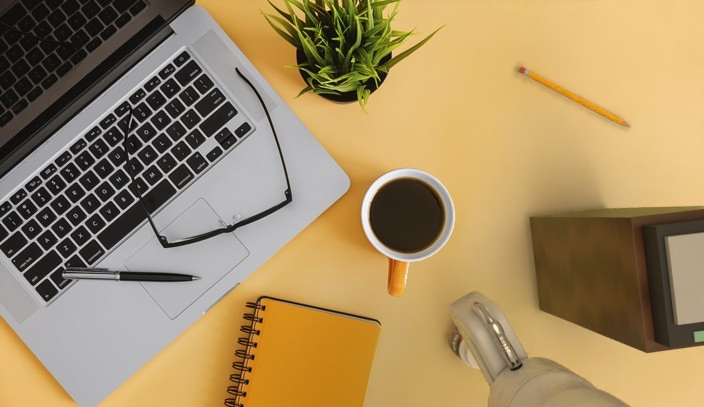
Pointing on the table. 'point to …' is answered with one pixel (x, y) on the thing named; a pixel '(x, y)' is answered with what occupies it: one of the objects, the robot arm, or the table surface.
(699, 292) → the scale
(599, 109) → the pencil
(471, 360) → the pill bottle
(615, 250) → the riser
